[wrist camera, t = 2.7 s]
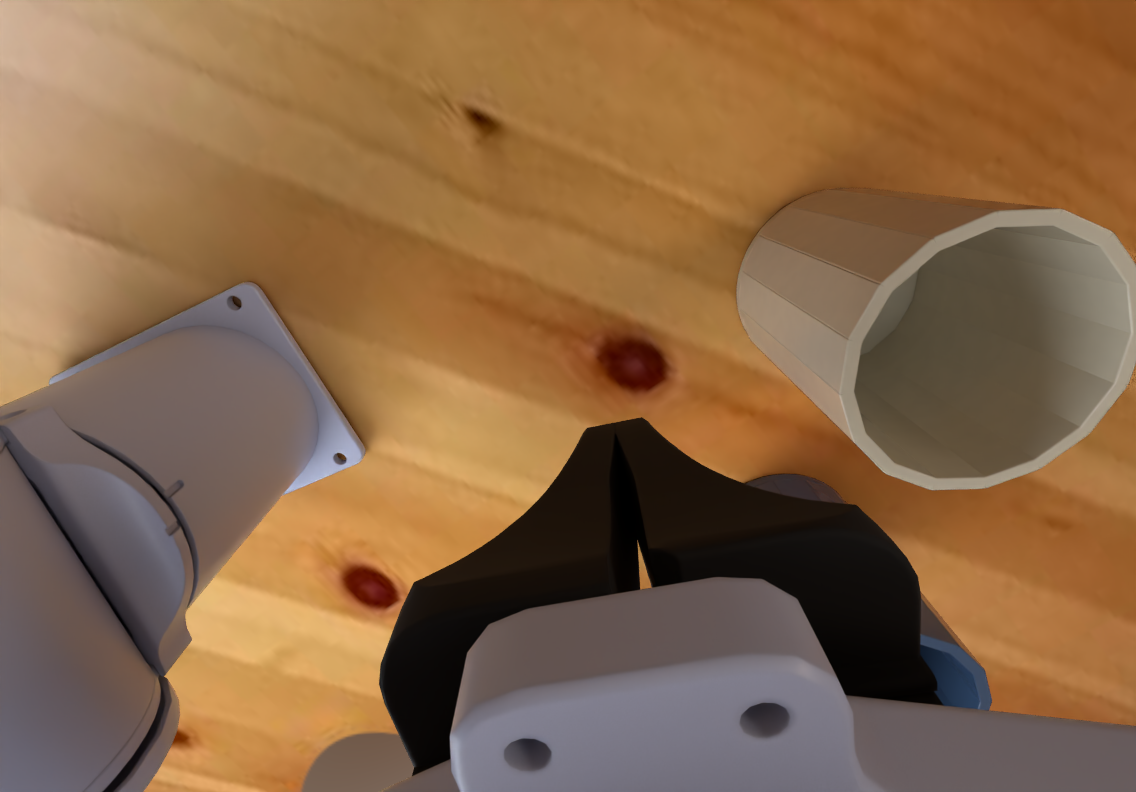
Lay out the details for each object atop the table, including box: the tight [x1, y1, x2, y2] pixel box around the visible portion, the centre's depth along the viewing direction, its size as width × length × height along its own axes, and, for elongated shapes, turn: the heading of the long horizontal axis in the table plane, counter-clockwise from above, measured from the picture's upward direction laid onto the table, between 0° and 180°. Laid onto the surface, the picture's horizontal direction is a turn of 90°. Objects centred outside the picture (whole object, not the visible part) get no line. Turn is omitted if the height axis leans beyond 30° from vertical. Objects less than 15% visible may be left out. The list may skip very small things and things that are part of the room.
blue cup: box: [746, 474, 992, 710], centre depth 22 cm, size 7×7×9 cm
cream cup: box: [737, 188, 1136, 490], centre depth 18 cm, size 7×7×9 cm
